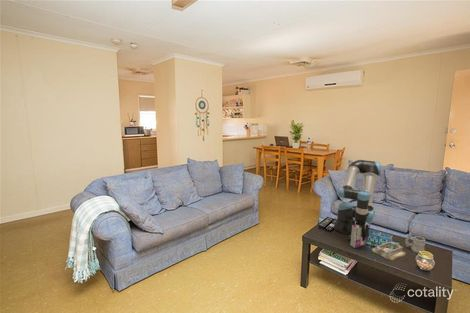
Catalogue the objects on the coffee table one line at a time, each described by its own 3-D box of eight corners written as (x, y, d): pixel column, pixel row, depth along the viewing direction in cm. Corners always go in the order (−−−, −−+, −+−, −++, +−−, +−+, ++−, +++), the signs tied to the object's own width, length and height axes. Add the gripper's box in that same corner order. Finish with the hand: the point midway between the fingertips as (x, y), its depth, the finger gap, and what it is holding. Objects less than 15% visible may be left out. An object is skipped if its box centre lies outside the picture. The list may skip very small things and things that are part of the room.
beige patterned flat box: (371, 250, 174) (372, 244, 174) (385, 245, 182) (386, 239, 181) (391, 261, 162) (392, 255, 161) (405, 254, 170) (406, 249, 169)
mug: (423, 255, 170) (426, 239, 168) (403, 248, 178) (405, 233, 176) (424, 251, 175) (427, 235, 173) (405, 245, 183) (407, 230, 181)
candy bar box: (360, 242, 186) (362, 222, 183) (365, 245, 181) (368, 224, 178) (349, 245, 181) (351, 224, 178) (355, 248, 177) (357, 227, 174)
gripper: (347, 209, 183) (344, 238, 187) (370, 218, 167) (366, 249, 171) (353, 207, 186) (350, 236, 190) (376, 216, 171) (372, 247, 174)
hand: (358, 242), depth 181 cm, fingers closed on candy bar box, 5 cm apart
